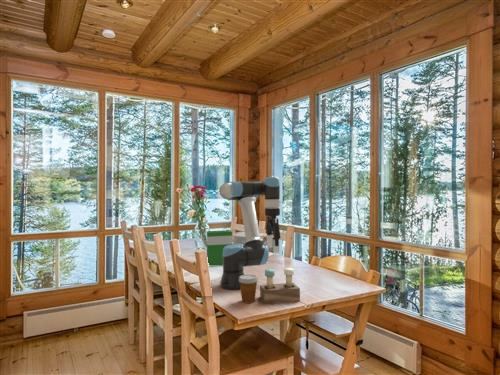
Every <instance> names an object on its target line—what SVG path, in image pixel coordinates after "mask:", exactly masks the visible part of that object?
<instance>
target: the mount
mask: <svg viewBox="0 0 500 375" xmlns="http://www.w3.org/2000/svg"><path fill="white" fill-rule="evenodd" d="M259 297H260V300H262V302H263V303H264V304H272V303H273V304H274V303H283V302H284V303H287V302H298V301H301V288H300V287H299V286H298V285H297V284H296V283H294V282H292V287H291V288H287V287H286V282H285V283H273V289H267V284H259Z"/></svg>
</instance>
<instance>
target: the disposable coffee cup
mask: <svg viewBox="0 0 500 375" xmlns="http://www.w3.org/2000/svg"><path fill="white" fill-rule="evenodd" d="M258 280H259V279H258V277H257V275H255V274H244V275H242V276H240V277H239V282H240V294H241V295H240V296H241V301H242V303H245V304H252V303H254V302H256V301H255V300H256V292H257V282H258Z"/></svg>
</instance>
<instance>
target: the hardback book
mask: <svg viewBox="0 0 500 375" xmlns="http://www.w3.org/2000/svg"><path fill="white" fill-rule="evenodd" d="M232 234H233V231H231V230H228V229H227V230H225V229H224V230H223V229H222V230H207V231H206V258H207V257H208V263H209V265H219V266H223V248H224V247H225V246H227V245H231V244H233V236H232Z"/></svg>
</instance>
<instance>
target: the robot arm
mask: <svg viewBox="0 0 500 375" xmlns="http://www.w3.org/2000/svg"><path fill="white" fill-rule="evenodd" d="M280 186H281V183H280V178H279V176H268V177H267V176H266V177H265V178H264V181H247V180H246V181H228V182H225V183H222V184H221V186H220V187H219V190H218V191H219V193H218V194H219V195H220V196H221V197H222V199H224V200H227V201H237V204H238V205H239V206H240V208H241V210H240V211H241V215H242V222H243V223H242V224H243V227H244V231H245V236H246V242H245V244H244V246H243V244H240V243H238V244H233V243H232V244H231V245H227V246H225V247H224V248H223V265H222V275H221V279H220V282H219V284H220V285H219V286H220V288H221V289H225V290H239V289H240V282H239V277H240V276H242V275H245V273H244V268H245V267H255V266H262V265H263V266H264V265H266V264H267V263H268V261H269V258H270V256H269V254H270V249H272V248H273V251H272V252H273V254H279V253H280V239H281V233H280V232H281V230H280V224H279V218H277V217H278V216H280V215H281V208H280V206H281V204H280V203H281V200H280V198H281V196H280V194H281V193H280V192H281V191H280ZM259 196H260V197H261V196H263V197H264V207H265V208H264V216H266V226H265V227H266V229H265V234H267V243H266V244H264V243H265V241H264V239H263V240H262V239H260V233H259V232H260V228H259V223H258V217H257V211H256V206H255V203H256V202H257V199H258V197H259ZM240 290H241V289H240Z"/></svg>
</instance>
